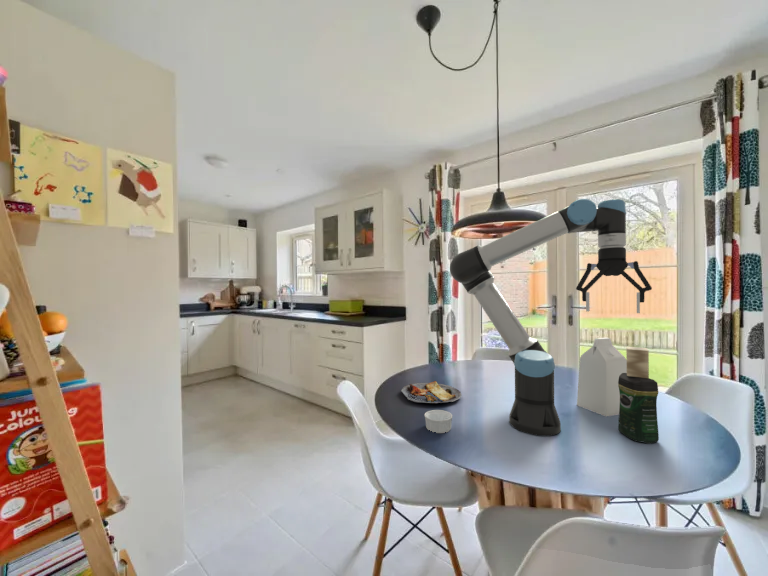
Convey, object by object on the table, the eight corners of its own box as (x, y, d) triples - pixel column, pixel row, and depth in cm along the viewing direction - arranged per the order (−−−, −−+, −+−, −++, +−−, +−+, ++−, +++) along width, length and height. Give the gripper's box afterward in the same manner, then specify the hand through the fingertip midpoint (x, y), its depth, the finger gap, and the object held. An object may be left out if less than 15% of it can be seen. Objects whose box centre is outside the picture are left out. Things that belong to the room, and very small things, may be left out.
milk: (599, 401, 126) (599, 335, 126) (630, 412, 115) (630, 339, 115) (576, 405, 122) (576, 336, 122) (606, 416, 112) (605, 341, 112)
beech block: (627, 375, 96) (626, 349, 96) (626, 372, 100) (626, 346, 100) (648, 378, 93) (648, 350, 93) (647, 374, 97) (647, 348, 97)
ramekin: (431, 436, 98) (431, 422, 98) (420, 424, 107) (420, 411, 107) (457, 432, 100) (457, 418, 100) (444, 421, 109) (444, 408, 109)
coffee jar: (665, 444, 92) (664, 379, 92) (636, 444, 92) (636, 379, 92) (638, 429, 101) (638, 370, 101) (613, 429, 102) (613, 370, 101)
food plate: (395, 388, 144) (395, 380, 144) (444, 385, 149) (444, 377, 149) (413, 411, 119) (413, 401, 119) (470, 406, 125) (470, 397, 125)
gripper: (566, 249, 111) (567, 311, 111) (662, 243, 96) (662, 314, 96) (570, 251, 117) (570, 309, 117) (660, 245, 102) (660, 312, 102)
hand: (612, 312), depth 107 cm, fingers open, 13 cm apart
